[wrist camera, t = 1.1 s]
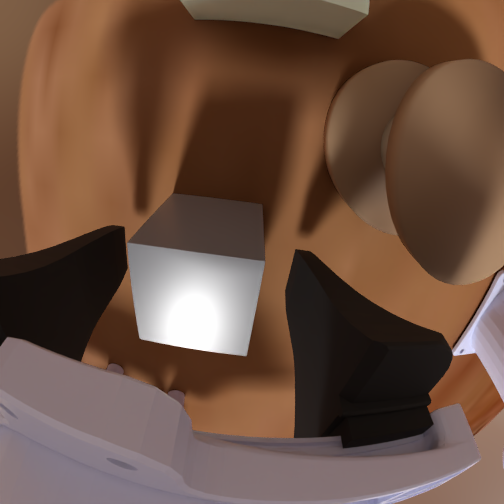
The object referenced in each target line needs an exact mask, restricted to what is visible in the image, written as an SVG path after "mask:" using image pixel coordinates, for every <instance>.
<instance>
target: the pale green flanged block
mask: <svg viewBox="0 0 504 504" xmlns="http://www.w3.org/2000/svg"><path fill="white" fill-rule="evenodd" d="M180 1H181V2H182V4H183V5H184V6H185V8H186V9H187V10H188V12H189V13H190V14H191V16H192V17H193V18H194V20H228V21H242V22H253V23H261V24H269V25H276V26H282V27H288V28H293V29H298V30H303V31H308V32H312V33H317V34H321V35H325V36H329V37H332V38H336V39H339V38H340V37H342V36H343V35H344V34H345V33H346V32H348V31H349V30H350V29H351V28H352V27H354V26H355V25H356V24H357V23H358V22H360V21H361V20H362V19H363V18H365V17H366V16H367V15H368V13H369V0H180Z"/></svg>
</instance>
